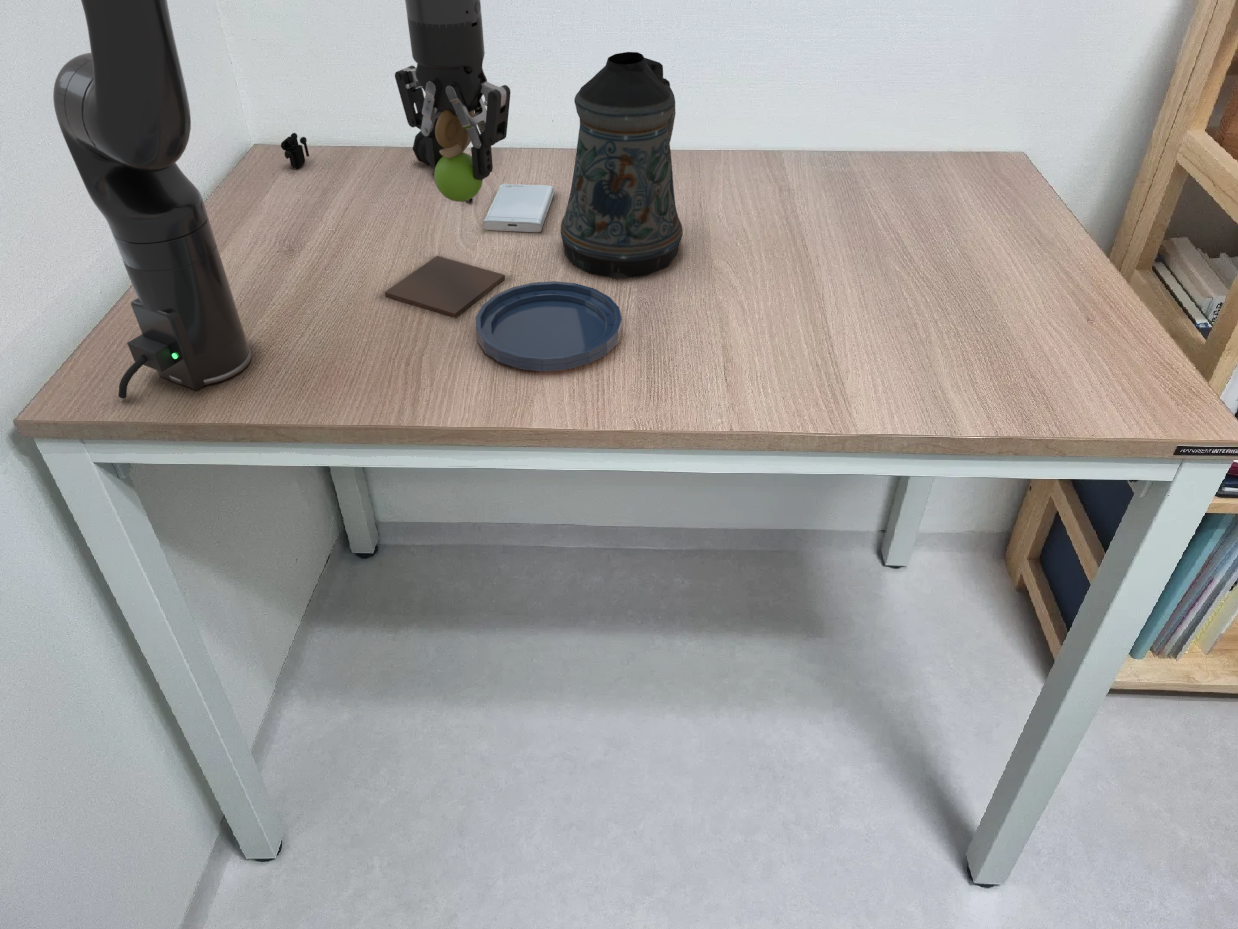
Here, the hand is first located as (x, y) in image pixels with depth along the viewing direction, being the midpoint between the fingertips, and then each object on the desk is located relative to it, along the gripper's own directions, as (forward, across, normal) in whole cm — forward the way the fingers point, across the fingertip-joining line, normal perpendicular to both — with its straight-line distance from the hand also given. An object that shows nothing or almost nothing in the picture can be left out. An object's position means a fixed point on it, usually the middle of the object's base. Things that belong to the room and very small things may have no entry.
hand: (460, 171), depth 104 cm
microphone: (+17, -27, +28) cm, 42 cm away
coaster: (+17, -6, +2) cm, 18 cm away
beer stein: (+17, +8, +23) cm, 30 cm away
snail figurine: (+3, 0, 0) cm, 3 cm away
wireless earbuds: (+17, -50, +21) cm, 57 cm away
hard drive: (+17, -10, +24) cm, 31 cm away
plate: (+17, +12, -1) cm, 21 cm away
